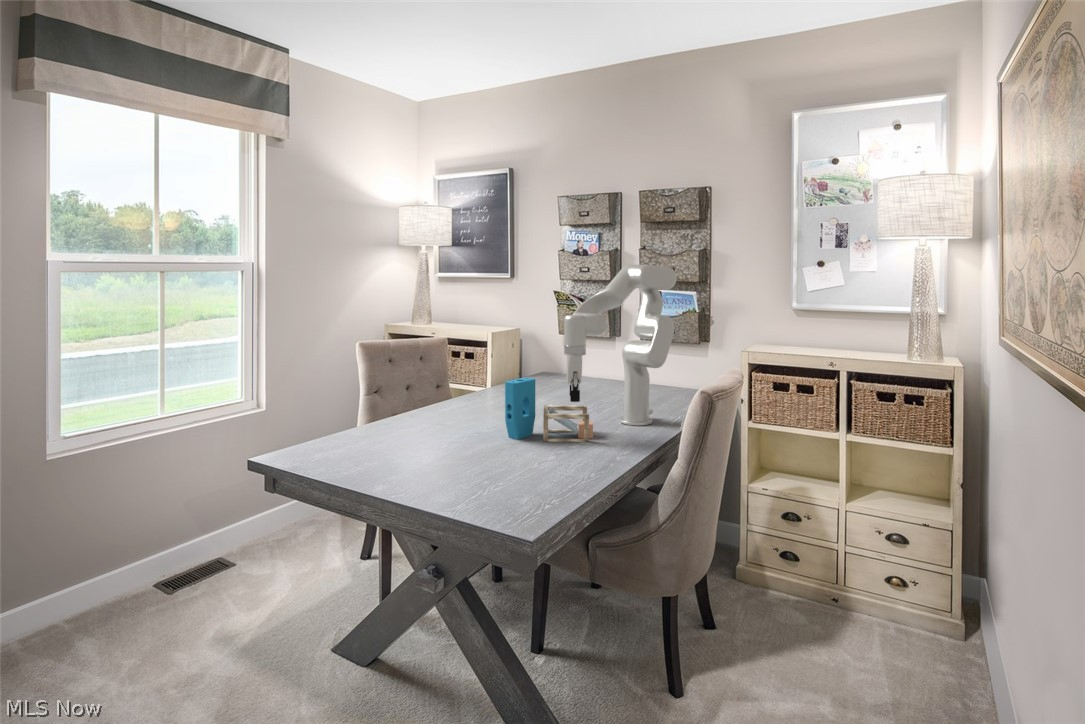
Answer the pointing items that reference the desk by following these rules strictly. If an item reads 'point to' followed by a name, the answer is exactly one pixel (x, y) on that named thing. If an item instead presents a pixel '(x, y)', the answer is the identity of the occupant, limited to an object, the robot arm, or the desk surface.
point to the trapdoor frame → (565, 416)
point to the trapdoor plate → (565, 421)
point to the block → (520, 407)
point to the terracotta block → (581, 429)
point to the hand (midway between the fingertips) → (574, 398)
